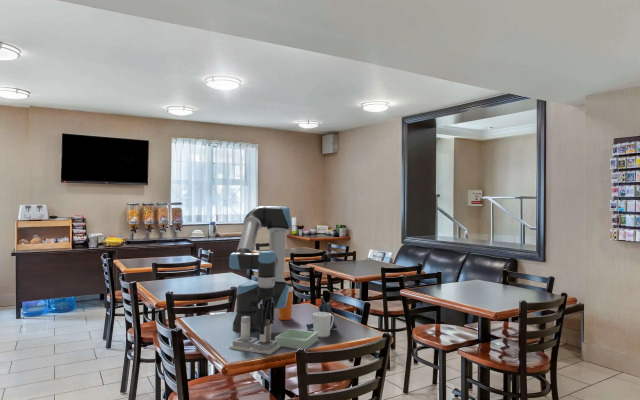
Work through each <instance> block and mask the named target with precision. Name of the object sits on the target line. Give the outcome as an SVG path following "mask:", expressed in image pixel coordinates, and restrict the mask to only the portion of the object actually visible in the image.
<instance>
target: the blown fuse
mask: <svg viewBox="0 0 640 400" xmlns="http://www.w3.org/2000/svg"><path fill="white" fill-rule="evenodd" d="M265 326H266V342H261V344H264V345H269V344H270V340H271V339H270V319H268V318H266V323H265Z"/></svg>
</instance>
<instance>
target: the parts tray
mask: <svg viewBox="0 0 640 400" xmlns="http://www.w3.org/2000/svg"><path fill="white" fill-rule="evenodd" d="M318 338H319V337H318V332H313V331H310V330H304V329H303V330H301V329H294V328H287V329H286V330H284V331H282V332H281V333H279V334H278V335H276V336H274V341H277V345H280V347H284V348H290V349H297V350H300V349H299V348H305V349H306V350H308V349H309V348H310V347H311V346H312V345H314V344H315V343H316V342H317V341H318V340H319V339H318Z"/></svg>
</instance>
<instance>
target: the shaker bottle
mask: <svg viewBox="0 0 640 400" xmlns="http://www.w3.org/2000/svg"><path fill="white" fill-rule="evenodd" d="M287 285H288V286H289V295H288V300H287V304H286V307H285V308H277V310H278V320H282V321H289V320H292V312H293V309H292V308H293V295H294V294H293V293H294V287H293V284H292V283H290V282H289V283H288V282H287Z"/></svg>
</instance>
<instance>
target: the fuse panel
mask: <svg viewBox="0 0 640 400" xmlns="http://www.w3.org/2000/svg"><path fill="white" fill-rule="evenodd" d="M228 346H229V349H231V350H238V351H246V352H251V353H259V354H266V355H271V354H273V353H274V352H276V351H278V349H280V348H281V346H280V345H277V341H275V339H274V340H273V339H272V340H271V339H270V344H269V345H264V344H261V341H260V339H258V337H251V336H250V341H249V342H243V341H241V336H240V337H238V338H236V339H234V340H232V344H230V345H228Z"/></svg>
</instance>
